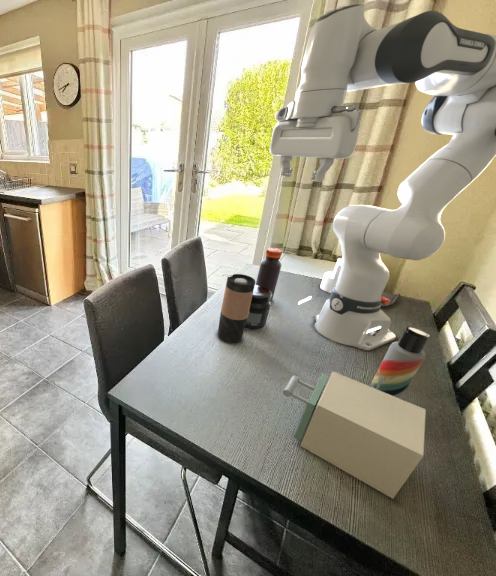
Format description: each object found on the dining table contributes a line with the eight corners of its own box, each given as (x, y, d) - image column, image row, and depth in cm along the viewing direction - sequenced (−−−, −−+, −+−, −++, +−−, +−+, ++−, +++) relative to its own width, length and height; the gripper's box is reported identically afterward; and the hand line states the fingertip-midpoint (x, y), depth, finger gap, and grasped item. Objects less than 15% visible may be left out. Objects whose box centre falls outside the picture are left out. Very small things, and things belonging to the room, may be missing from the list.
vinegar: (250, 294, 121) (261, 246, 112) (268, 296, 120) (281, 247, 111) (255, 303, 115) (267, 253, 106) (274, 304, 114) (288, 254, 105)
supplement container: (261, 315, 107) (269, 285, 101) (269, 333, 97) (278, 300, 92) (230, 312, 109) (236, 282, 103) (234, 329, 99) (241, 296, 94)
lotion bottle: (359, 391, 75) (393, 323, 66) (381, 390, 76) (417, 322, 67) (380, 410, 70) (419, 339, 61) (402, 408, 70) (445, 337, 61)
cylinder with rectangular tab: (346, 296, 119) (357, 268, 114) (319, 290, 124) (329, 263, 118) (345, 288, 126) (356, 260, 121) (320, 282, 131) (329, 256, 125)
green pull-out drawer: (270, 422, 66) (281, 389, 61) (287, 394, 73) (298, 362, 69) (376, 482, 55) (399, 446, 50) (384, 441, 62) (404, 407, 57)
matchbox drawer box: (300, 445, 62) (317, 404, 57) (316, 410, 70) (332, 371, 65) (393, 499, 53) (423, 455, 48) (399, 450, 61) (426, 409, 56)
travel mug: (244, 345, 91) (258, 286, 83) (217, 342, 93) (229, 283, 84) (240, 331, 98) (252, 274, 89) (215, 328, 100) (225, 272, 91)
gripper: (378, 103, 55) (353, 183, 61) (294, 112, 73) (281, 174, 79) (348, 103, 54) (326, 185, 60) (271, 113, 72) (260, 175, 78)
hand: (300, 178), depth 70 cm, fingers open, 8 cm apart
